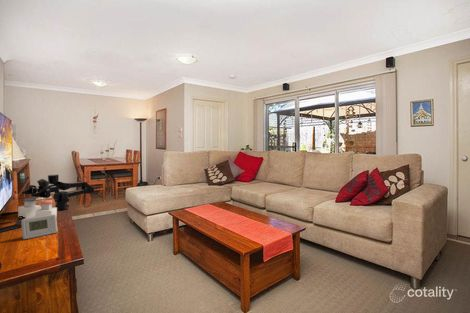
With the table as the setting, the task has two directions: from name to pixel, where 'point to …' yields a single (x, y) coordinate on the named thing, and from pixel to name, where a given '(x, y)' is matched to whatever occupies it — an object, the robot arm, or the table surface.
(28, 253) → the table surface
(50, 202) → the red plug
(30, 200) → the plug
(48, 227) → the digital clock
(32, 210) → the socket
